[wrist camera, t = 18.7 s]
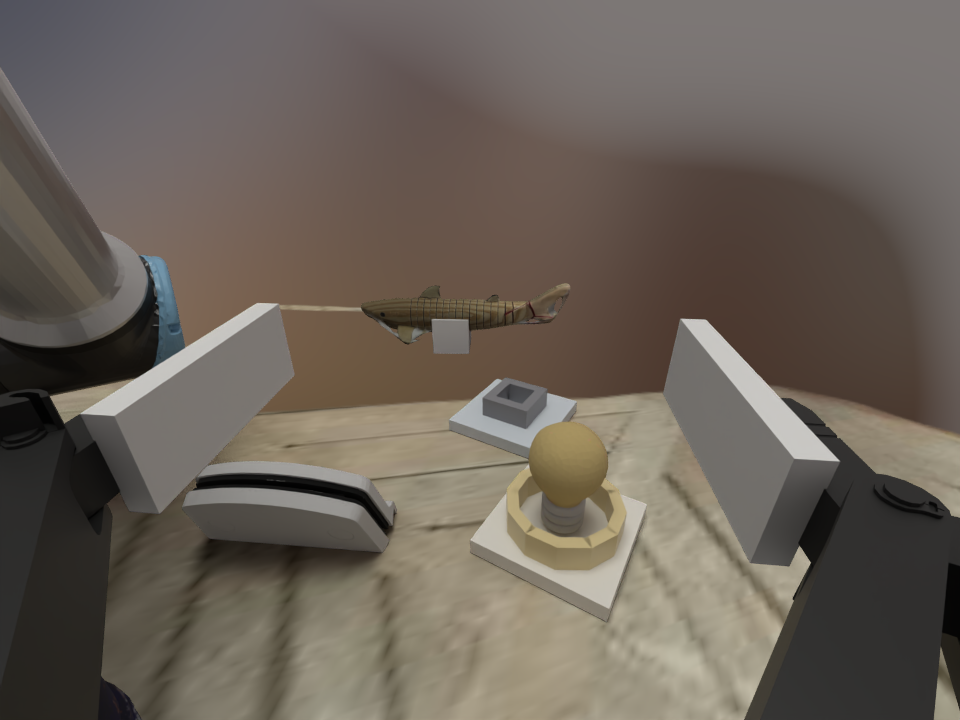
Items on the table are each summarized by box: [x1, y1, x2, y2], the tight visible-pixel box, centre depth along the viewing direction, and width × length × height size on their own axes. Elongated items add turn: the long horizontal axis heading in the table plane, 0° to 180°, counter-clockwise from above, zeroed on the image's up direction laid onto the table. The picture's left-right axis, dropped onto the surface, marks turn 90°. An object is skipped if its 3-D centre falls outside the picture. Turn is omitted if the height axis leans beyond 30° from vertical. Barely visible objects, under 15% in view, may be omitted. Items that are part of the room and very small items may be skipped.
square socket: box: [449, 378, 577, 459], centre depth 55 cm, size 12×12×4 cm
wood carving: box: [361, 284, 570, 354], centre depth 74 cm, size 9×35×11 cm, turn 88°
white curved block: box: [182, 461, 397, 553], centre depth 38 cm, size 17×5×10 cm, turn 84°
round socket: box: [470, 464, 647, 622], centre depth 39 cm, size 12×12×4 cm
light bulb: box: [529, 422, 608, 534], centre depth 37 cm, size 6×6×10 cm
